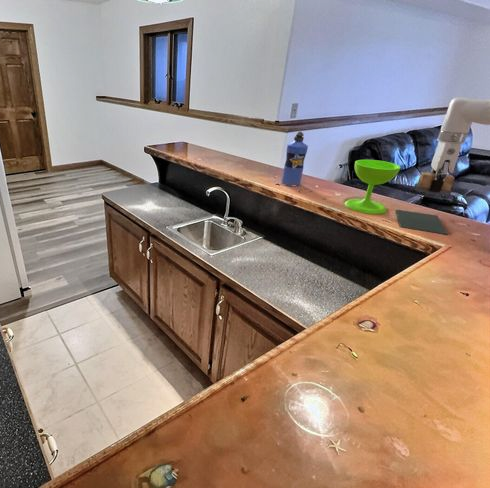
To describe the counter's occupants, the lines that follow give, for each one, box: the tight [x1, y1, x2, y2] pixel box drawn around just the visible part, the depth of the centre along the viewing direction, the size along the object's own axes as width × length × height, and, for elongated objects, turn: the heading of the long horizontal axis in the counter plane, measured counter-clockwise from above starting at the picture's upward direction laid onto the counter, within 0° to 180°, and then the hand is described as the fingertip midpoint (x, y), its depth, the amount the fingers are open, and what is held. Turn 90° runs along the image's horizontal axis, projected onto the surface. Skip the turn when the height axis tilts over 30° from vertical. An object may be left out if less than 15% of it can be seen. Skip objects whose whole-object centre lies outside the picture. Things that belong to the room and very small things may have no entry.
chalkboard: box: [395, 209, 449, 236], centre depth 131 cm, size 14×20×1 cm
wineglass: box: [343, 159, 402, 215], centre depth 142 cm, size 16×16×18 cm
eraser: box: [413, 171, 456, 196], centre depth 124 cm, size 10×6×6 cm, turn 65°
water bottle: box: [281, 131, 309, 186], centre depth 170 cm, size 9×9×25 cm
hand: (432, 188), depth 125 cm, fingers closed on eraser, 5 cm apart
